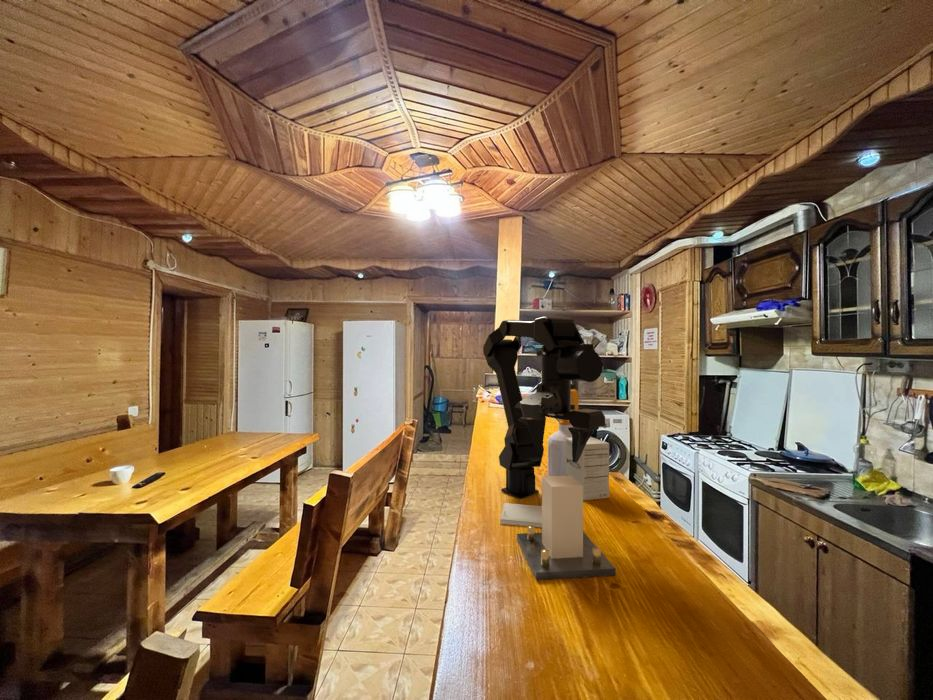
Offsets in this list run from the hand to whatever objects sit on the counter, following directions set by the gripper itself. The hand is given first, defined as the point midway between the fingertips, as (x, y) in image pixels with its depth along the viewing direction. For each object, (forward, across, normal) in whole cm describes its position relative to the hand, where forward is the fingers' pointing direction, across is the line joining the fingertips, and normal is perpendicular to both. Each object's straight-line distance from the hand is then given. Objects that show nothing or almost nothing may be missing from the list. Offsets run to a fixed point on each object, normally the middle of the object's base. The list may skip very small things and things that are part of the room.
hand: (556, 456), depth 75 cm
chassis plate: (+12, +10, -11) cm, 19 cm away
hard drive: (+13, -3, -4) cm, 14 cm away
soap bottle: (+12, -14, +21) cm, 28 cm away
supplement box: (+12, -4, +16) cm, 21 cm away
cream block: (+11, +10, -11) cm, 18 cm away
